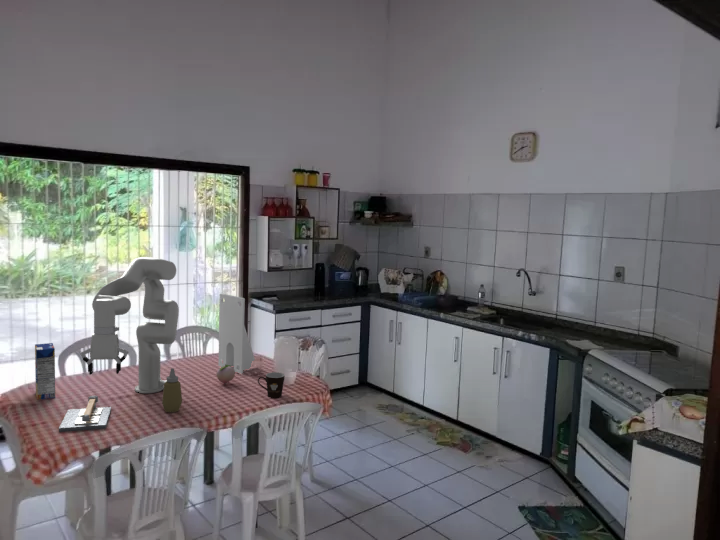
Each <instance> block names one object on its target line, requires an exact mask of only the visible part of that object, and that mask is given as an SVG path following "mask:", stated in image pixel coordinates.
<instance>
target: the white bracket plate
mask: <svg viewBox="0 0 720 540" xmlns="http://www.w3.org/2000/svg"><path fill="white" fill-rule="evenodd" d="M245 301H246V299H245V298H244V297H242V296H241V297H240V296H236V295H231V294H226V293H222V292H220V293H219V309H218V310H219V315H218V317H219V319H218V322H219V323H218V360H217V361H218V365H217V366H221V367H223V366H225V364H226V365H230V366H234V367H233V369H234V371H235V372H238V373H241V374H242V373H243V374H244V371H243V370H245V369H249V368H250V367H251V363H252V361H254V360H255V361H256V358H255V356H254V351H253V349H252V346H251V343H250V339H249V335H248V333H247V330H246V325H245V306H246V305H245V303H246V302H245Z"/></svg>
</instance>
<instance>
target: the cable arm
mask: <svg viewBox="0 0 720 540" xmlns="http://www.w3.org/2000/svg"><path fill="white" fill-rule="evenodd" d="M98 402H99V395H90V396H88V402H87V405H86V406H85V408H86V410H85V412H84V415H83V416H82V421H84V422H85V421H89V418H90V415H91V413H92V410H93V407H94V405H95V403H96V404H97V403H98Z"/></svg>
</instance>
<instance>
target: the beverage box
mask: <svg viewBox="0 0 720 540" xmlns="http://www.w3.org/2000/svg"><path fill="white" fill-rule="evenodd" d="M55 351H56V350H55V346H54V343H52V342H51V343H50V342H49V343H38V344H34V357H35V358H34V366H35V370H34V371H35V372H34V373H35V374H34V376H35V396H36V400H37V401H40V399H42V400H48V398H50V399H56V362H55V361H56V360H55V359H56V358H55V355H56V354H55ZM46 398H47V399H46Z"/></svg>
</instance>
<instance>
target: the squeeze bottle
mask: <svg viewBox="0 0 720 540" xmlns="http://www.w3.org/2000/svg"><path fill="white" fill-rule="evenodd" d="M166 380H167V382H165V383H164V385H163V386H164V389H163V390H162V391H163V392H162V400H161V403H162V407H163V410H164V412H166V413H177V412H179V411H180V408H181V406H182V403H183V397H182V386H181V382H180V381H179V376H178V375H176V372H175V368H170V371H169V374H168V376H166Z"/></svg>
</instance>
